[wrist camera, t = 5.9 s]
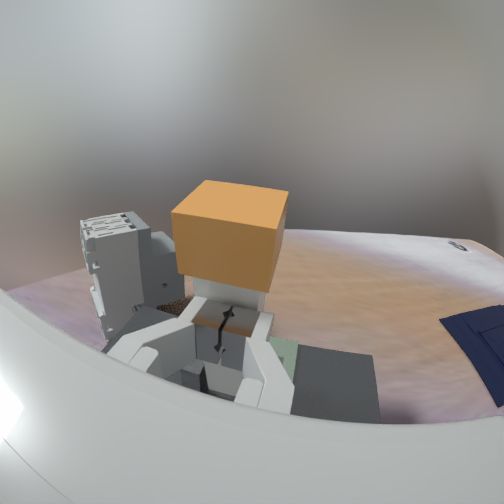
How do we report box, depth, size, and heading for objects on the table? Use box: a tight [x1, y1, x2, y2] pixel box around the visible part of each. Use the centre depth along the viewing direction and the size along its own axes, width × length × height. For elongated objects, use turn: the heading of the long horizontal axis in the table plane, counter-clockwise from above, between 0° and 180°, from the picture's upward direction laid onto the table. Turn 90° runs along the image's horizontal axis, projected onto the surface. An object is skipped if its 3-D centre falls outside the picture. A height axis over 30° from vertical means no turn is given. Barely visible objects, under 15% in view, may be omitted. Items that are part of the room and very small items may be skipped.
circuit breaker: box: [80, 211, 185, 343], centre depth 35 cm, size 8×14×15 cm, turn 129°
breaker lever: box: [171, 180, 289, 401], centre depth 13 cm, size 3×3×14 cm
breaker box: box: [101, 306, 381, 424], centre depth 18 cm, size 22×14×14 cm, turn 77°
